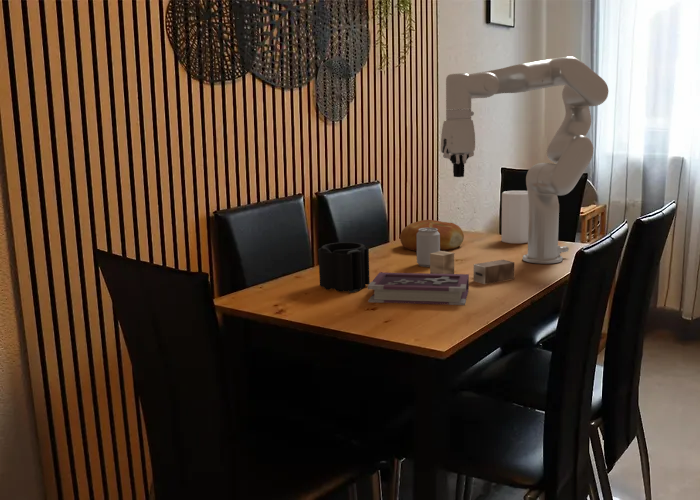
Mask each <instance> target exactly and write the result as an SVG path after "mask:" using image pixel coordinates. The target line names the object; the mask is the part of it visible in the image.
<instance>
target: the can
mask: <svg viewBox="0 0 700 500" xmlns="http://www.w3.org/2000/svg"><path fill="white" fill-rule="evenodd" d="M418 230H419V232H418V233H417V251H416V264H418V266H419V267H421V268H423V267H424V268H430V253H435V252H439V251H440V233H439V232H438V231H437V230H438V229H437V228H420V229H418Z"/></svg>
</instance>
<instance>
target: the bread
mask: <svg viewBox="0 0 700 500" xmlns="http://www.w3.org/2000/svg"><path fill="white" fill-rule="evenodd" d="M420 228H437V229H438V230H437V231H438V232H439V233H440V251H451V250H455V249H457V248H458V247H460V246H461V245H462V243H464V239H465V235H464V232H463V229H462V228H461V227H460V226H459V225H458V224H456V223H454V222H447V221H442V220H441V221H440V220H435V219H422V220H418V221H415V222H412V223H411V222H410V224H408V225H407V226H405V227H404V228H403V229H402V230H401V232H400V236H399V239H400V243H401V245H402V246H403V247H404V248H405V249H408V250H411V251H415V252H417V233H418V232H419V230H418V229H420Z"/></svg>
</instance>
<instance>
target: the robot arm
mask: <svg viewBox="0 0 700 500" xmlns="http://www.w3.org/2000/svg"><path fill="white" fill-rule="evenodd" d="M557 86H558V87H559V86H564V87H563V88H562V93H561V95H562V100H563V104H564V109H565V115H564V118H563V121H562V122H561V125H560V126H559V127H558V130H557V131H556V133H555V134H554V136H553V137H552V139H551V140H550V142H549V144H548V146H547V148H546V149H547V150H546V155H547V159H548V160H549V161H551V162H539V163H536V164H534V165H532V166H530V168H529V169H528V170H527V173H526V176H525V185H526V191H528V201H529V212H528V243H527V254H523V256H522V260H523V261H524V262H527V263H531V264H542V265H549V264H550V265H551V264H558V263H561V262H563V258H564V257H563V256H562V255H561V254H562V253H567V252H569V249H570V248H569V246H568V245H563V246H561V245H559V224H560V223H559V221H560V220H559V218H560V216H559V215H560V214H559V213H560V203H559V198H558V196H565V195H568V194H569V193H570V192H572V191H573V190H574V188H575V187H576V185H577V184H578V182H579V180H580V179H581V177H582V176H583V174H584V173H585V171H586V169H587V168H588V167H589V165H590V162H591V161H592V158H593V154H594V145H593V142H592V140H591V139H590V138H589V137H588V136H587V134H588V133H589V130H590V128H591V124H592V115H591V110H590V107H597V106H600V105H602V104H604V103H605V101H606V100H607V99H608V96H609V87H608V83H607V82H606V81H605V80H604V79H603V78H602V77H601V76H600V75H599V74H597V72H595V71H594V70H593V69H592V68H590V67H589V66H588V65H587V64H585V63H584V62H583V61H581V60H580V59H578V58H576V57H575V56H571V55H569V56H562V57H555V58H554V57H553V58H547V59H542V60H537V61H531V62H525V63H524V62H523V63H518V64H514V65H510V66H506V67H502V68H496V69H492V70H491V69H490V70H486V71H481V72H475V73H473V72H472V73H467V72H466V73H459V72H458V73H451V74H450V73H449V74H448V75H446V78H445V120H443V122H442V127H441V138H440V152H441V153H442V157H443V158H444V159H447V160H449V161H450V163H451V164H452V165H453V166H452V170H453V171H452V174H453V177H454V178H464V176H465V164H466V163H467V161H468V159H469V158H472V157H474V156H475V152H474V151H475V150H476V133H475V132H476V131H475V125H474V121H473V120H472V117H473V116H474V114H475V113H474V111H472V100H473V99H487V98H490V97H491V98H492V96H494V95H499V94H517V93H525V92H530V91H535V90H541V89H547V88H552V87H557Z"/></svg>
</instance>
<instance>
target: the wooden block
mask: <svg viewBox="0 0 700 500" xmlns="http://www.w3.org/2000/svg"><path fill="white" fill-rule="evenodd" d="M514 279H515V262H513V261H511V260H506V259H499V260H494V261H486V262H479V263H474V264H473V281H474V282H476V283H480V284H482V285H488V284H492V283H493V284H494V283H499V282H506V281H511V280H514Z"/></svg>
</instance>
